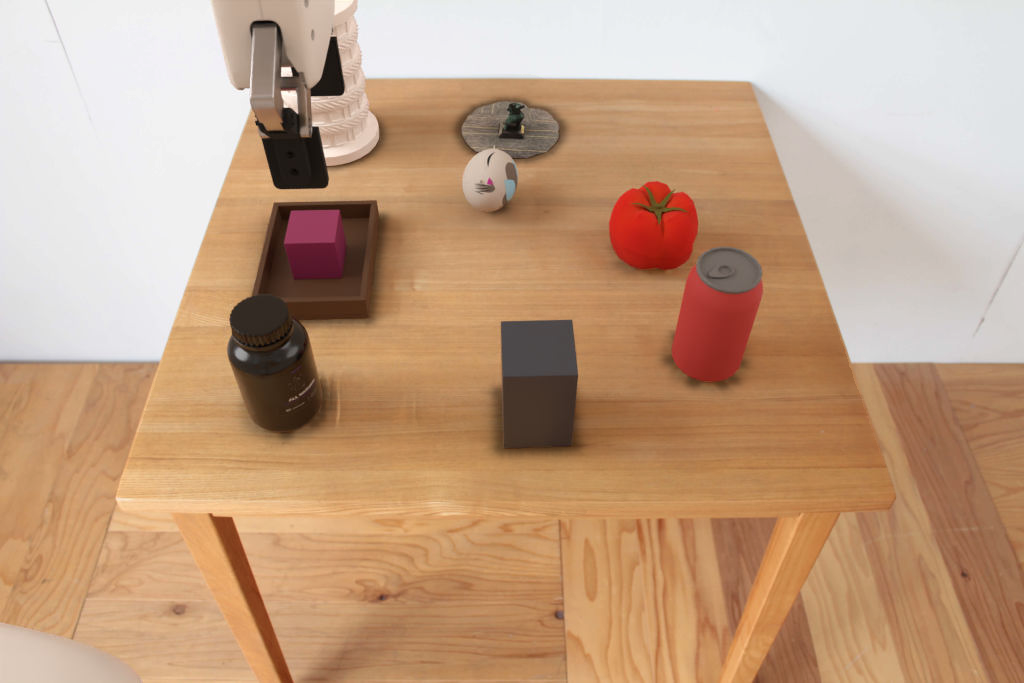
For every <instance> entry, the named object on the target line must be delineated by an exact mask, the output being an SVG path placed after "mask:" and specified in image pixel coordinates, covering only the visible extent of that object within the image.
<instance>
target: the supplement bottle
mask: <svg viewBox="0 0 1024 683" xmlns="http://www.w3.org/2000/svg"><path fill="white" fill-rule="evenodd" d="M230 312H231V313H230V314H229V319H228V320H229V326H230V330H231V335H230V337H229V339H228V342H227V347H226V354H227V358H228V361H229V365H230V368H231V370H232V373H233V376H234V379H235V381H236V384H237V386H238V389H239V392H240V395H241V398H242V400H243V404H244V406H245V410H246V411H247V414H248V416H249V417H250V419H251V421H252V422H253V424H255V425H256V426H257V427H259V428H261V429H263V430H265V431H268V432H271V433H287V432H293V431H296V430H298V429H299V430H300V428H303V427H304V426H307V425H308V424H309V423H310V422H312V421H313V420H314V419H315V418H316V417H317V415H318V414H319V412H320V410H321V408H322V405H323V400H324V393H323V389H322V384H321V380H320V376H319V375H320V374H319V371H318V367H317V364H316V363H317V362H316V360H315V355H314V352H313V348H312V343H311V339H310V336H309V333H308V331H307V329H306V327H305V326H304V325H303V324H302V323H301V322H300V321H299V320H296V319H294V318H292V316H291V314H290V311H289V307H288V306H287V304H286V302H284V301H283V299H280V298H279V297H276V296H275V295H270V294H267V295H266V294H262V295H260V294H258V295H254V296H252V295H251V296H248V297H245V299H242V300H241V301H240V302H238V303H237V304H236V305H234V306H233V309H231V311H230Z"/></svg>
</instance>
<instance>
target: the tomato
mask: <svg viewBox="0 0 1024 683" xmlns="http://www.w3.org/2000/svg"><path fill="white" fill-rule="evenodd" d="M675 191H676V188H674V189H673V190H672V189H670V187H669V186H668V184H667V183H665V182H661V181H658V180H654V181H647V182H646V183H644V184H641V186H640V187H639V188H634V187H632V188H630V189H628V190H626V191H625V192H623V193H622V195H620V196H619V197H618V199H617V200H616V202H615V203H614V205H613V208H612V210H611V214H610V216H609V217H610V218H609V222H608V231H609V234H608V235H609V241H610V244H611V246H612V249H613V251H614V253H615V254H616V256H617V258H618V259H619V260H621V261H622V262H623V263H624V264H626V265H627V266H629V267H631V268H634V269H638V270H654V269H658V270H662V271H671V270H677V269H678V268H680V267H682V266H683V265H685V264H686V263H687V262H688V261H689V260H690V259H691V256H692V253H693V250H694V243H695V241H696V239H697V236H698V233H699V218H698V212H697V208H696V204H695V201H694V200H693V199H692V198H691V196H689V194H688V193H685V192H684V191H679V192H675Z"/></svg>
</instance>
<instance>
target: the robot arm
mask: <svg viewBox="0 0 1024 683" xmlns="http://www.w3.org/2000/svg"><path fill="white" fill-rule="evenodd" d="M210 5H211V9H212V12H213V17H214V22H215V25H216V30H217V35H218V39H219V44H220V48H221V52H222V56H223V61H224V65H225V69H226V72H227V77H228V80H229V82H230V84H231V85H232V87H233V88H235V89H236V90H237V91H244V90H246V89H249V103H250V104H249V105H250V108H251V110H252V111H253V113H254V118H255V119H256V120H254V123H255V126H257V132H258V135H259V138H260V139H261V142H262V147H263V150H264V154H265V158H266V161H267V165H268V169H269V172H270V176H271V180H272V181H271V182H272V184H273V187H275V189H278V190H320V189H321V190H322V189H326V188H327V187H328V186H329V181H330V177H329V171H328V166H326V161H325V156H324V151H323V146H322V141H321V136H320V131H319V126H312V110H311V96H341V95H343V94H344V91H345V84H344V78H343V72H342V66H341V60H340V54H339V48H338V42H337V36H336V37H331V35H333V32H334V25H333V21H334V12H335V0H210ZM281 67H291V71H292V76H291V77H281ZM281 91H296V93H297V106H298V114H297V113H296V112H295V111H294V110H293V109H291V108H284V101H283V99H282V95H281ZM0 683H144V682H143V680H142V678H141V676H140V675H139V674H138V673H137V671H135V669H134V668H133V667H132V666H131V665H129V664H128V663H127V662H126V661H124V660H122V659H121V658H120V657H117V656H116V655H114V654H111V653H110V652H108V651H105V650H103V649H100V648H97V647H96V646H93V645H90V644H87V643H84V642H81V641H78V640H75V639H73V638H72V639H71V638H69V637H64V636H61V635H57V634H53V633H49V632H45V631H42V630H37V629H34V628H29V627H24V626H18V625H15V624H11V623H5V622H3V621H2V622H1V621H0Z"/></svg>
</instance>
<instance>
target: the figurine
mask: <svg viewBox="0 0 1024 683" xmlns="http://www.w3.org/2000/svg"><path fill="white" fill-rule="evenodd" d="M461 182H462V183H461V185H462V192H463V195H464V197H465V200H466V201H467V203H468V204H469V205H470V206H471V207H473V208H474V209H476V210H478V211H481V212H484V213H486V212H487V213H488V212H489V213H490V212H495V211H497V210H500V209H502V208H504V207H505V206H506V205H507V204H508V203H509V202H510V201H511V200H512V198H513V197H514V195H515V193H516V191H517V187H518V183H519V173H518V168H517V165H516V162H515V161H514V158H512V157H510V156H509V155H508V154H507V153H506V152H504V151H502V150H499V149H495V145H494V147H493V149H487V150H484V151H481V152H477V153H476V154H475V155H474V156H473V157H472V158H471V159H470V160H469V161H468V163H467V164H466V166H465V168H464V171H463V174H462V180H461Z"/></svg>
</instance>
